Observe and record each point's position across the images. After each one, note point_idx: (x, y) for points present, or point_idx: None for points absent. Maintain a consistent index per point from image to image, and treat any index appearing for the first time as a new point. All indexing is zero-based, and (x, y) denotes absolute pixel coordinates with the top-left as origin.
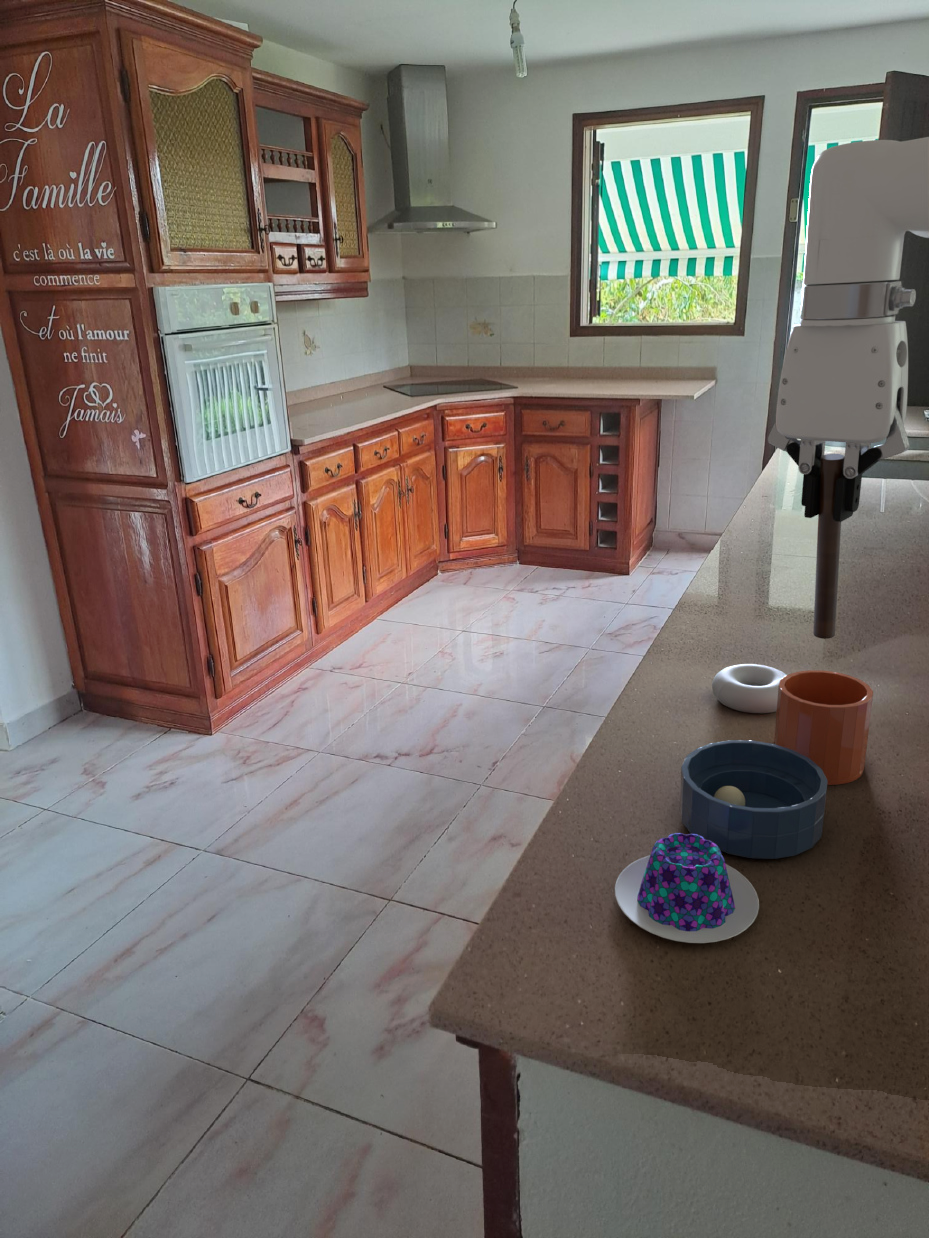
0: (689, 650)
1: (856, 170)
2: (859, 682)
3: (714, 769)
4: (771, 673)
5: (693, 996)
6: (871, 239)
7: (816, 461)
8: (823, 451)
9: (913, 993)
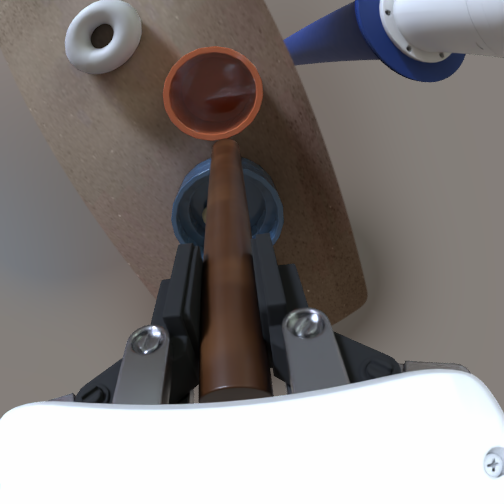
0: (14, 16)
1: None
2: (233, 56)
3: (183, 200)
4: (105, 14)
5: None
6: None
7: (176, 381)
8: (166, 380)
9: (358, 263)
